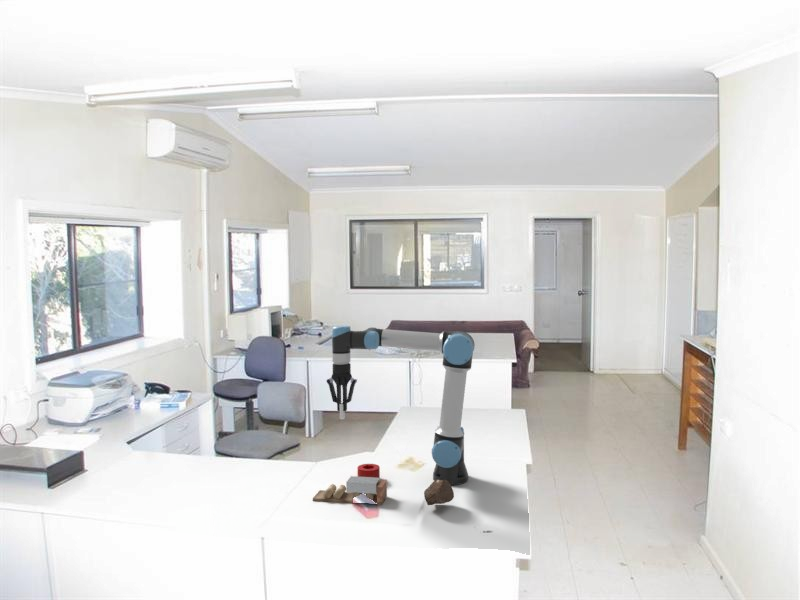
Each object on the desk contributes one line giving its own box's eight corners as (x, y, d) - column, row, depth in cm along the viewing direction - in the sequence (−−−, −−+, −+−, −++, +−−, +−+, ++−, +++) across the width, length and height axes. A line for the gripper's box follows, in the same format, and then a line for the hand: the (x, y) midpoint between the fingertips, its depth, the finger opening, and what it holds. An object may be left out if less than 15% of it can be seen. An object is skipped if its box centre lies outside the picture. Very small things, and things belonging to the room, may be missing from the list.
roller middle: (341, 483, 249) (347, 487, 248) (337, 489, 249) (344, 493, 249) (335, 490, 241) (341, 494, 241) (331, 496, 241) (338, 500, 241)
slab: (380, 487, 245) (380, 477, 245) (376, 493, 238) (376, 483, 238) (351, 485, 248) (351, 476, 247) (346, 492, 241) (346, 482, 241)
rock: (440, 513, 229) (440, 486, 229) (416, 507, 235) (416, 481, 234) (455, 502, 240) (455, 477, 239) (432, 496, 245) (432, 472, 245)
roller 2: (365, 491, 247) (358, 494, 248) (361, 484, 247) (355, 487, 248) (360, 498, 239) (353, 501, 240) (356, 491, 239) (350, 494, 240)
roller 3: (372, 485, 246) (378, 489, 246) (369, 492, 247) (375, 495, 246) (367, 493, 239) (373, 496, 238) (364, 499, 239) (370, 502, 239)
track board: (386, 496, 246) (386, 479, 246) (382, 505, 237) (381, 487, 237) (319, 492, 251) (319, 475, 251) (312, 500, 242) (312, 483, 242)
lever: (382, 484, 261) (382, 469, 260) (360, 487, 258) (360, 471, 257) (370, 471, 278) (370, 457, 278) (350, 474, 275) (350, 459, 275)
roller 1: (330, 483, 250) (337, 485, 249) (328, 489, 250) (335, 492, 250) (324, 490, 242) (331, 492, 241) (322, 497, 242) (329, 499, 242)
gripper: (358, 361, 260) (359, 417, 261) (329, 361, 262) (330, 416, 263) (354, 364, 252) (355, 421, 254) (323, 363, 255) (324, 420, 256)
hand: (342, 418), depth 258 cm, fingers closed
